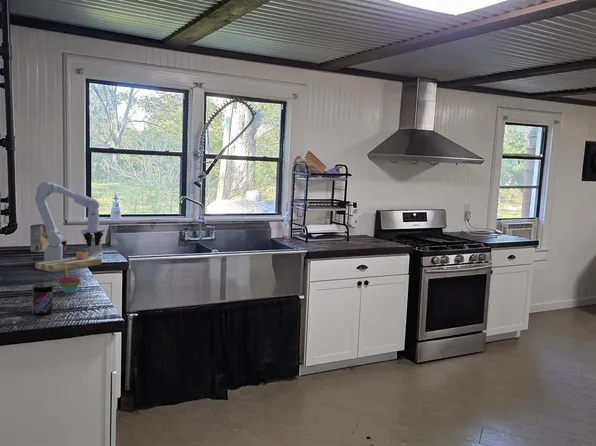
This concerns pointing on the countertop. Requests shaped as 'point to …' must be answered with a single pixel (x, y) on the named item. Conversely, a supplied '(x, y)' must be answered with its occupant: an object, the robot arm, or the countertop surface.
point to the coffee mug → (64, 247)
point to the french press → (93, 247)
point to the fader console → (67, 264)
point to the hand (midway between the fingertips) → (93, 245)
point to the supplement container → (42, 299)
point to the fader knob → (82, 255)
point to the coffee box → (38, 238)
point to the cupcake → (69, 282)
